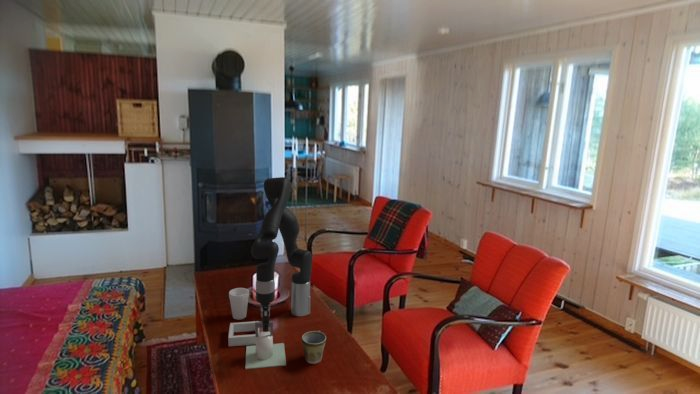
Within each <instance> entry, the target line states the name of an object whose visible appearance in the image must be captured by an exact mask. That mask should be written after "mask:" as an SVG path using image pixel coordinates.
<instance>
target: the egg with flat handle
mask: <svg viewBox="0 0 700 394" xmlns="http://www.w3.org/2000/svg"><path fill="white" fill-rule="evenodd" d="M262 322H263V321H259V322H255V331H254V332H255V333H254V334H255V336H256V344H255V345H256V358H257V359H259V360H268V359H270V358H271V357H272V356H273V344H274V341H273V340H274V321H273V320H269V324H268V328H269V329H270V331H268V332H263V330H261V331H259V333H258V328H259V329H263V324H262Z"/></svg>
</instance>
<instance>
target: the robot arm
mask: <svg viewBox="0 0 700 394" xmlns="http://www.w3.org/2000/svg"><path fill="white" fill-rule="evenodd" d="M263 190H264V194H265V197H266V199H267V201H268V203H269V205H270V209H269V210H268V211H267V213H266V214H265V215H264V217H263V219H262V223H261V226H260V231H259V233H258V235H257V236H256V238H255V240H254V241H253V243H252V246H251V249H250V253H251V256H252V258H254V259H256V260H268V261H267V262H262V263H258V264H257V266H256V268H255V269H256V272H255V275H256V276H255V278H256V279H255V280H256V281H255V300H256V302H257V303H259V304H260V317H261V318H262V321H261V322H262V324H263V328H262V331H263V332H269V327H268V324H269V321H270V318H271V317H270V316H271V311H270V310H271V303H273V302H274V301H275V298H276V294H275V293H276V289H275V288H276V286H275V284H276V283H275V266H276V261H277V258H278V254H279V251H280V247H279V245H278V243H277V242H276V241H273V240H276V238H277V237H278V235H279V233H280V235H281V237H282V238H281V239H282V241H283V244H284V248H285V253H286V256H287V261H288V264H289V265H290V266H291V267H294V268H297V269H299V271H298V272H294V273H293V274H292V275H291V296H290V297H291V302H290V303H291V304H290V305H291V306H290V309H291V310H290V313H291V314H292V315H293V316H295V317H305V316H308V315H311V277H312V271H313V270H312V269H313V253H312V252H311V251H310V250H306V249H302V248H299V247H298V245H297V238H298V236H299V234H300V226H299V221H298V219H297V216H296V215H295V213H293V211H291V210H290V209H289V208H288V207H287V205H288V201H289V200H290V197H291V192H292V183H291V181H290V179H289V178H288V177H286V176H284V177H283V176H281V177H280V176H279V177H270V178H266V179H265V180H264V182H263Z"/></svg>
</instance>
